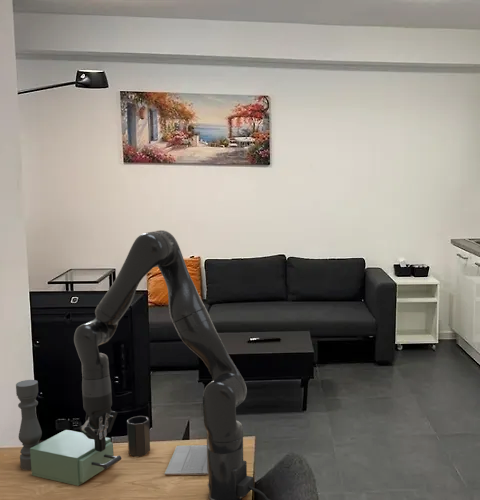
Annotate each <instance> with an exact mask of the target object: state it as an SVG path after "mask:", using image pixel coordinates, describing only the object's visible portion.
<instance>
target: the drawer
mask: <svg viewBox="0 0 480 500" xmlns="http://www.w3.org/2000/svg"><path fill="white" fill-rule="evenodd" d="M114 455H115V453H114V442H112V441H111V442H109V443H107V444H106V447H105V450H103V451H102V452H99V451H96V450H95V451H93V452H91V453H90V454H88V455H86V456H85V457H83V458H81V459H79V473H80V482H83V483H82V484H84V483H85V482H87V481H88V480H90V479H91V478H93V477H95V476H96V475H97V473H98V474H99V473H101V472H103V471H104V470H107V469H109V468H110V467H112V466H114V465H115V464H117V463H118V462H120V461H121V460H122V456H121V455H120V454H119V455H116V456H114ZM94 475H95V476H94Z"/></svg>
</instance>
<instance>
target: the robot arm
mask: <svg viewBox="0 0 480 500" xmlns="http://www.w3.org/2000/svg"><path fill="white" fill-rule="evenodd" d="M153 268H158V270H159V272H160V274H161V276H162V278H163V279H164V282H165V285H166V288H167V297H168V298H167V300H168V312H169V318H170V320H171V322H172V325H173V326H174V328H175V331H176V332H177V335H178V337H179V338H180V340H181V341H182V343H184V344H185V346H186V347H188V348H189V350H191V351H192V352H193V353H194V354H195V355H197V356H198V358H200V360H201V361H203V363H204V365H205V366H206V368H207V370H208V372H209V374H210V376H211V379H212V381H211V382H210V381H209V383H208V384H207V385H206V386H205V387H204V390H203V393H202V413H203V425H204V428H205V430H206V435H207V434H208V474H207V477H208V479H207V481H208V483H207V487H208V500H243V498H245V497H246V496H247V495H248V494H249V493H250V492H251V491H253V492H255V493H257V494H258V495H260V496H261V497H262V498H263V499H264V500H270V498H269V497H267V496H266V494H265V493H264V492H263V491H261V490H260V489H258V488H256V487H254V486H255V485H254V484H255V483H254V480H255V479H254V476H251V475H248V473H247V472H248V471H247V467H248V466H247V463H248V462H247V460H244V426H243V424H242V422H240V420H237V408H238V407H239V406H240V405H241V404H242V403H244V401H245V400H246V398H247V394H248V389H247V384H246V381H245V379H244V378H243V376H242V374H241V373H240V370H239V369H238V368H237V366H236V365H235V363H234V361H233V359H232V358H231V356H230V355H229V353H228V351H227V349H226V347H225V344H224V343H223V341H222V339H221V337H220V335H219V333H218V331H217V329H216V327H215V324H214V322H213V320H212V318H211V316H210V314H209V312H208V309H207V308H206V306H205V304H204V302H203V300H202V298H201V296H200V294H199V291H198V290H197V287H196V284H195V283H194V281H193V279H192V277H191V274H190V273H189V270H188V267H187V264H186V262H185V259H184V256H183V253H182V250H181V248H180V245H179V243H178V241H177V239H176V237H175V236H174V235H173V234H172V233H171V232H169V231H167V230H161V229H160V230H154V231H148V232H143V233H141V234H140V235H138V236H137V237H136V238H135V240H134V241H133V243H132V245H131V247H130V249H129V252H128V253H127V255H126V258H125V260H124V262H123V264H122V266H121V268H120V270H119V272H118V274H117V276H116V277H115V279H114V281H113V282H112V284H111V286H110V287H109V288H108V291H107V292H106V293H105V294H104V296H103V297H102V299H101V300H100V302H99V303H97V306H96V308H95V310H94V314H95V315H94V316H95V318H94V319H93V320H90V321H88V322H86V323H83V324H81V325H79V326H77V327H76V329H75V332H74V335H73V343H74V346H75V349H76V352H77V355H78V358H79V360H80V362H81V374H82V375H81V376H82V381H81V391H82V393H81V394H82V405H83V406H82V407H83V410H84V411H85V420H84V421H85V422H84V424H83V425H79V430H80V432H81V433H84V434H85V436H86V437H87V438H88V439H93V440H94V443H95V450H96V451H99V452H102V451H103V450H105V447H106V439H105V437H108V436H107V435H108V433H111V431H112V428H113V426H114V423H115V421H116V418H117V416H118V412H117V411H114V410H112V408H111V407H112V406H113V394H112V392H113V391H112V381H111V380H112V379H111V375H110V373H111V372H110V362H109V360H110V359H109V357H108V355H107V354H105V353H102V352H100V350H99V346H102V345H104V344H106V343H108V342H109V341H110V340H111V339H112V337H113V336H114V334H115V332H116V331H117V328H118V325H119V323H120V321H121V319H122V318H123V317H124V316H125V314H126V312H127V311H128V309H130V307H131V305H132V303H133V301H134V299H135V296H136V293H137V289H138V287H139V284H140V283H141V281H142V280H143V279H144V277H145V276H146V275H147V274H148V273H149V272H151V270H152V269H153Z"/></svg>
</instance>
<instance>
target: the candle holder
mask: <svg viewBox="0 0 480 500" xmlns="http://www.w3.org/2000/svg"><path fill="white" fill-rule="evenodd" d="M15 393H16V397H17V399H18V400H19V403H18V404H17V407H18V408H19V410H20V413H21V420H20V427H19V432H18V440H19V442H20V443H21V445H22V447H21V449H20V455H19V465H20V469H21V470H22V471H23V470H24V471H32V470H31V455H30V448H32V447H34V446H36V445H38V444H39V443H40V440H41V438H42V435H43V431H42V428H41V425H40V422H39V420H38V416H37V406H38V405H39V401H38V400H37V397H38V394H39V382H38V380H36V379H25V380H20V381H18V382H16V383H15Z"/></svg>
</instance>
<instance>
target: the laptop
mask: <svg viewBox="0 0 480 500" xmlns="http://www.w3.org/2000/svg"><path fill="white" fill-rule="evenodd" d="M164 471H165V472H164V475H179V476H181V475H185V476H186V475H188V476H189V475H194V476H195V475H196V476H197V475H198V476H199V475H201V476H202V475H208V434H207V433H206V444H194V445H193V444H191V445H190V444H189V445H186V444H185V445H176V446H175V449H174V451H173V454H172V456H171V458H170V460H169V462H168V465H167V467H166V469H165V470H164Z"/></svg>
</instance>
